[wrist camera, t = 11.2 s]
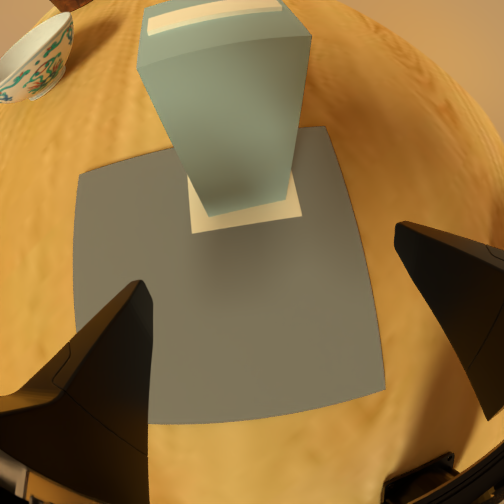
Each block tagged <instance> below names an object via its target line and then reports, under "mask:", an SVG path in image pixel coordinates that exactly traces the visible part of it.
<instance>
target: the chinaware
mask: <svg viewBox="0 0 504 504" xmlns="http://www.w3.org/2000/svg"><path fill="white" fill-rule="evenodd" d="M73 38H74V26H73V20H72V16H71V13H70V12H63V13H60V14H58V15H55V16H53V17H51V18H49V19H47V20H46V21H44V22H42V23H41V24H39V25H38V26H36V27H35V28H34V29H32V30H31V31H29V32H28V33H27V34H26V35H24V36H23V37H22V38H21V39H20V40H19V41H17V42H16V43H15V44H14V45H13V46H12V47H11V48H10V49H9V50H8V51H7V52H6V53H5V54H4V55H3V56H2V57H1V59H0V103H15V102H19V101H23V100H25V99H29V100H31V101H33V100H36V99H38V98H40V97H42V96H43V95H45V94H46V93H47V92H49V91H50V90H51V89H52V88H53V87H54V86H55V85H56V84H57V83H58V82H59V80H60V79H61V78H62V76H63V75H64V73H65V70H66V67H65V63H66V61H67V59H68V57H69V54H70V51H71V48H72V44H73Z"/></svg>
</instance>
